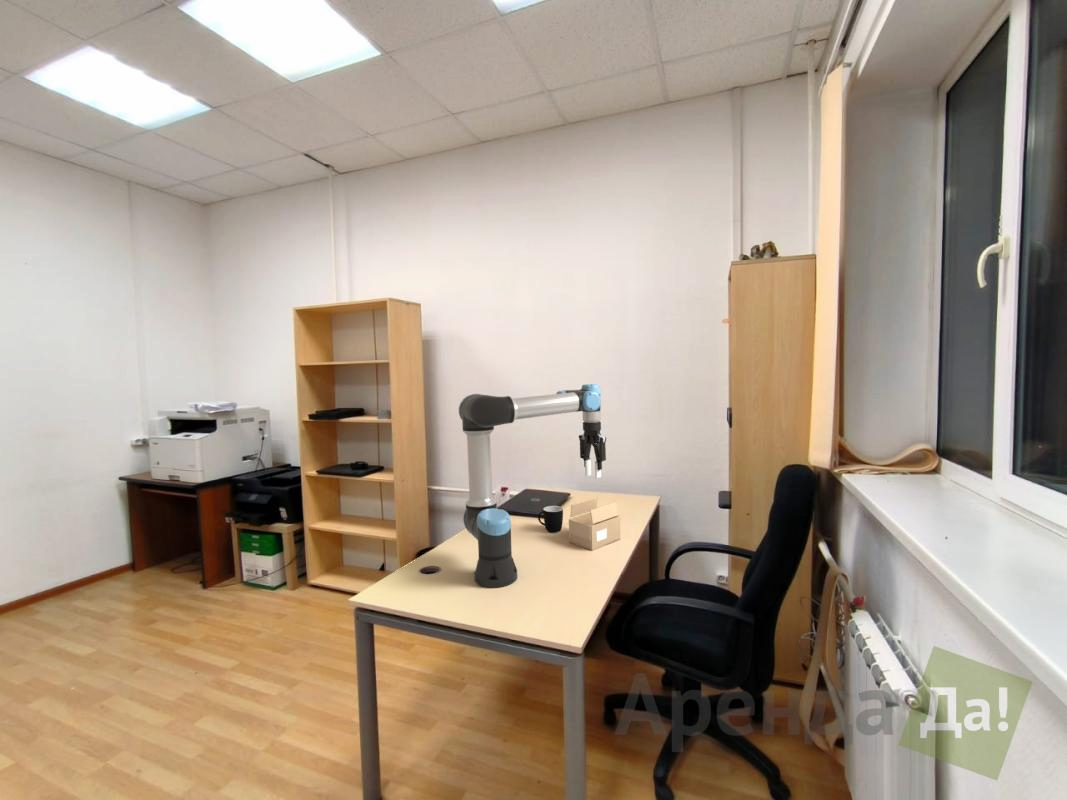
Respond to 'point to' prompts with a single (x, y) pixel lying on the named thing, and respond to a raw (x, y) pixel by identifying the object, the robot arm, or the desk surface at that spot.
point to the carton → (593, 531)
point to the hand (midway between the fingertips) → (593, 476)
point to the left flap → (583, 507)
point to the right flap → (604, 512)
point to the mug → (552, 518)
